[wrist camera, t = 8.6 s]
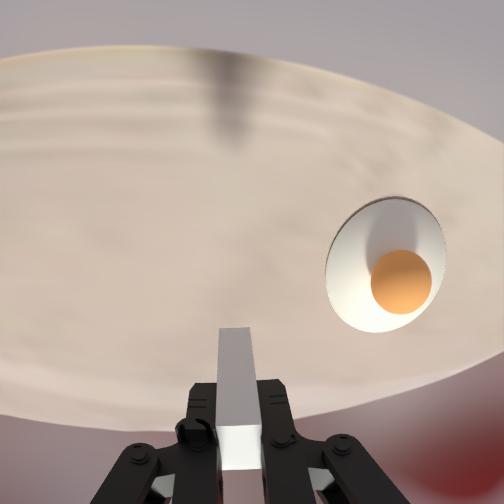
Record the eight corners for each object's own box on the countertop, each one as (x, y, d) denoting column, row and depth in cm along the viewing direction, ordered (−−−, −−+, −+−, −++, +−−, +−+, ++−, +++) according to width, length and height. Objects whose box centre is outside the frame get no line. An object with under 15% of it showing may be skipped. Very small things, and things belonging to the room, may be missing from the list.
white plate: (328, 197, 26) (328, 198, 26) (451, 201, 26) (452, 201, 26) (320, 337, 29) (321, 338, 29) (433, 323, 30) (434, 324, 30)
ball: (372, 241, 28) (374, 258, 23) (429, 244, 26) (442, 263, 21) (367, 296, 29) (367, 323, 24) (421, 300, 28) (430, 327, 23)
